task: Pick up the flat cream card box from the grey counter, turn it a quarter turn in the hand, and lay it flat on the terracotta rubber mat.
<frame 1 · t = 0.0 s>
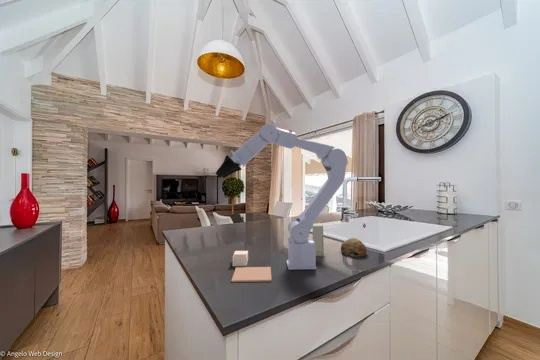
hand: (219, 175, 78), 32 cm above the worktop, tool tilted 50°, fingers open, 7 cm apart
mat: (252, 274, 71), on the worktop
brown rounded lump: (353, 253, 92), on the worktop
card box: (240, 263, 82), on the worktop
skincare box: (318, 254, 90), on the worktop
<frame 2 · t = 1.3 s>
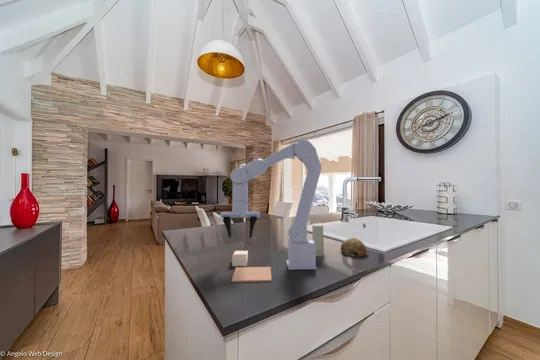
hand: (240, 237, 82), 9 cm above the worktop, tool pointing down, fingers open, 7 cm apart
nothing on the worktop moved.
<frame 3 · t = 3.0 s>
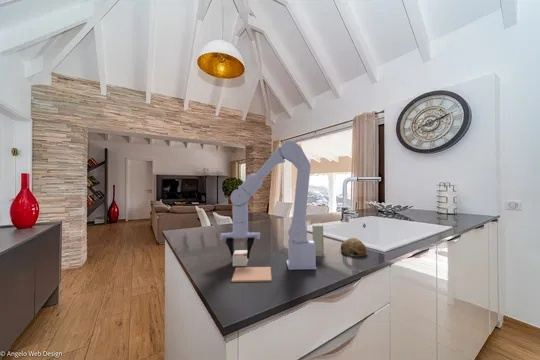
hand: (240, 258, 82), 2 cm above the worktop, tool pointing down, fingers closed on card box, 5 cm apart
card box: (240, 262, 82), on the worktop, touching gripper
everything else where it was.
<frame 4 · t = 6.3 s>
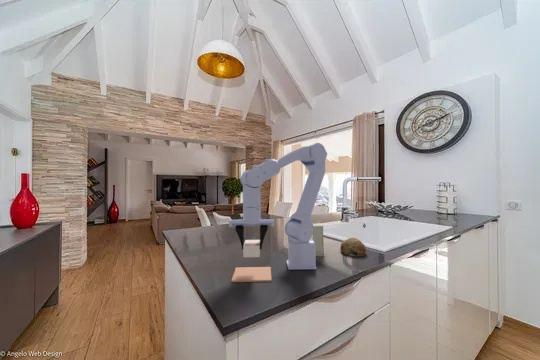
hand: (252, 248, 71), 8 cm above the worktop, tool pointing down, fingers closed on card box, 5 cm apart
card box: (252, 253, 71), point 7 cm above the worktop, touching gripper
everything else where it was.
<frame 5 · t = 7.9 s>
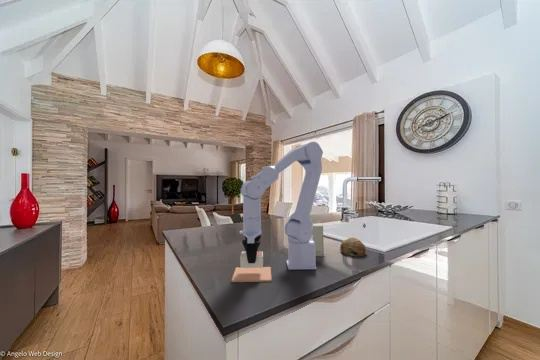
hand: (252, 259, 71), 5 cm above the worktop, tool pointing down, fingers closed on card box, 5 cm apart
card box: (252, 264, 71), point 3 cm above the worktop, touching gripper
everything else where it was.
when the fingers open (3 cm above the worktop, at t = 9.3 s): card box stays where it is, resting on mat.
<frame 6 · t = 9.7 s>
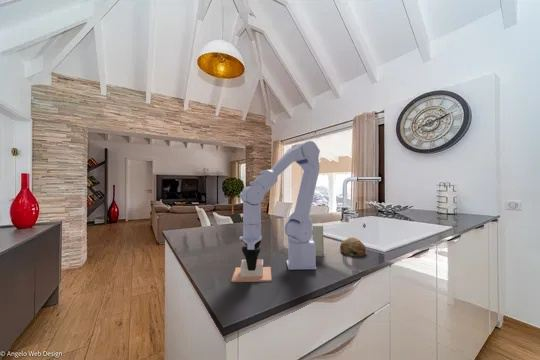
hand: (252, 265, 71), 3 cm above the worktop, tool pointing down, fingers open, 7 cm apart
card box: (252, 273, 71), resting on mat
everything else where it was.
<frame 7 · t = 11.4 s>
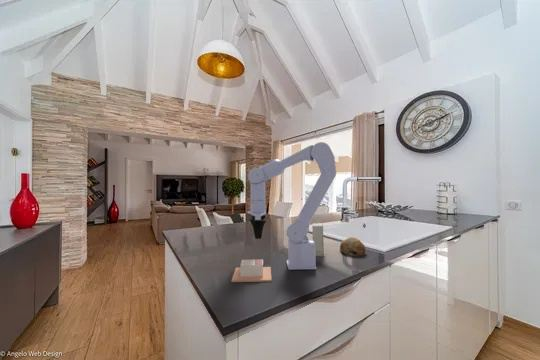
hand: (258, 235, 83), 9 cm above the worktop, tool pointing down, fingers open, 7 cm apart
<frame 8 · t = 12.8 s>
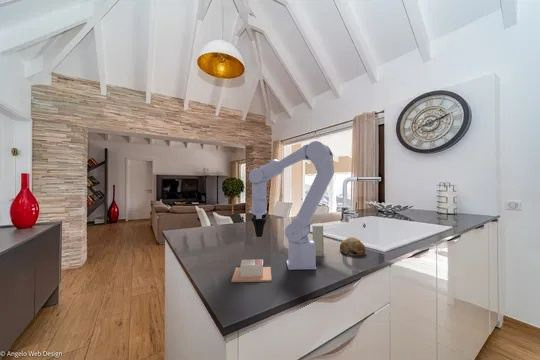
hand: (259, 234, 86), 9 cm above the worktop, tool pointing down, fingers open, 7 cm apart
at the end: card box inside the target area (0.1 cm from its centre), point 0.5 cm above the worktop; card box tilted 0°; the gripper is holding nothing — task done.
